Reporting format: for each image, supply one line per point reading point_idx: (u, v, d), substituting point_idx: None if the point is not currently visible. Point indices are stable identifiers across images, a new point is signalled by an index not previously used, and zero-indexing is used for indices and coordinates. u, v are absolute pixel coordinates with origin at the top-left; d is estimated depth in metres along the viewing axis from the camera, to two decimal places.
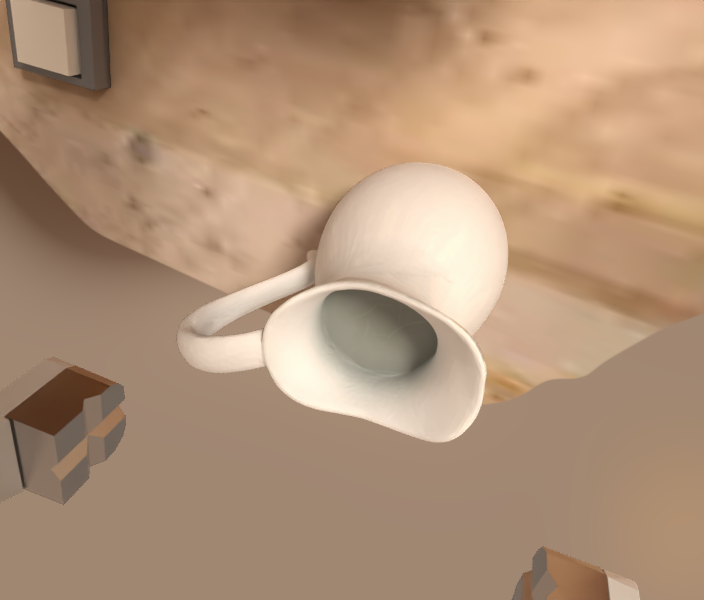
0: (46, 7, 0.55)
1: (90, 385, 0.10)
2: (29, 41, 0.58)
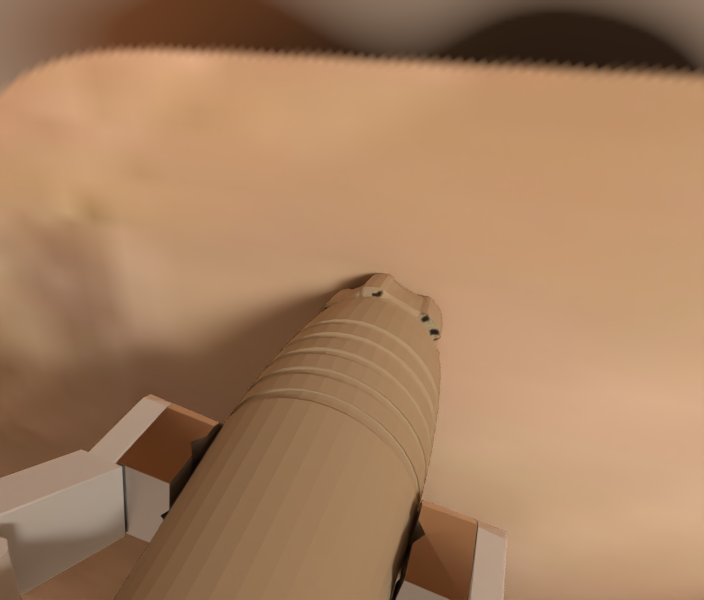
0: None
1: (194, 426, 0.10)
2: None
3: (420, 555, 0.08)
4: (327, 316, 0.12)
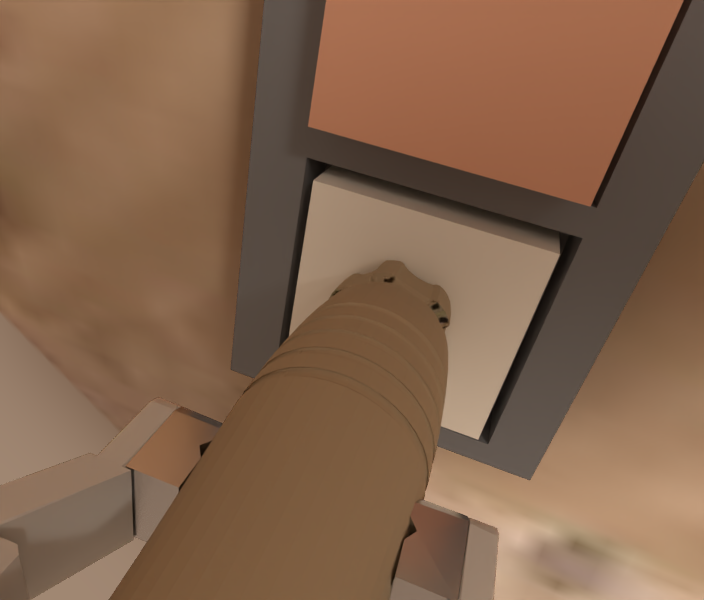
0: (475, 240, 0.14)
1: (202, 429, 0.10)
2: None
3: (411, 551, 0.08)
4: (340, 299, 0.12)
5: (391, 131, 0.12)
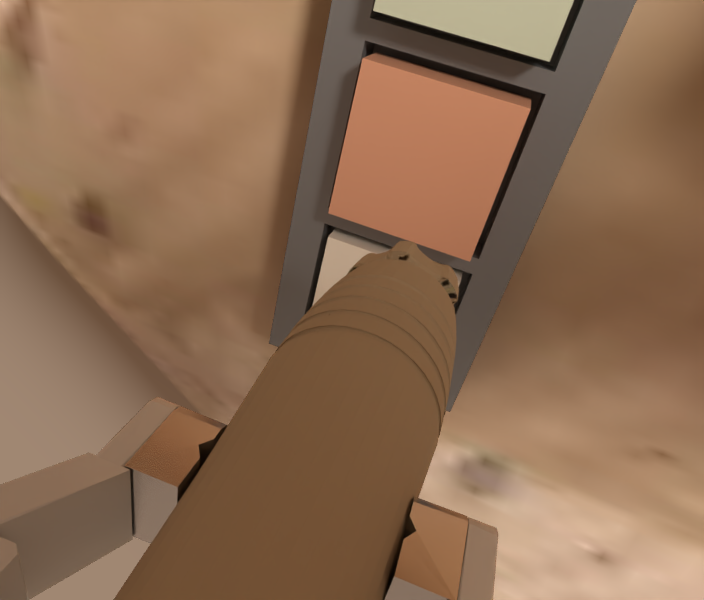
0: None
1: (201, 428, 0.10)
2: None
3: (410, 551, 0.08)
4: (361, 272, 0.13)
5: (371, 219, 0.23)
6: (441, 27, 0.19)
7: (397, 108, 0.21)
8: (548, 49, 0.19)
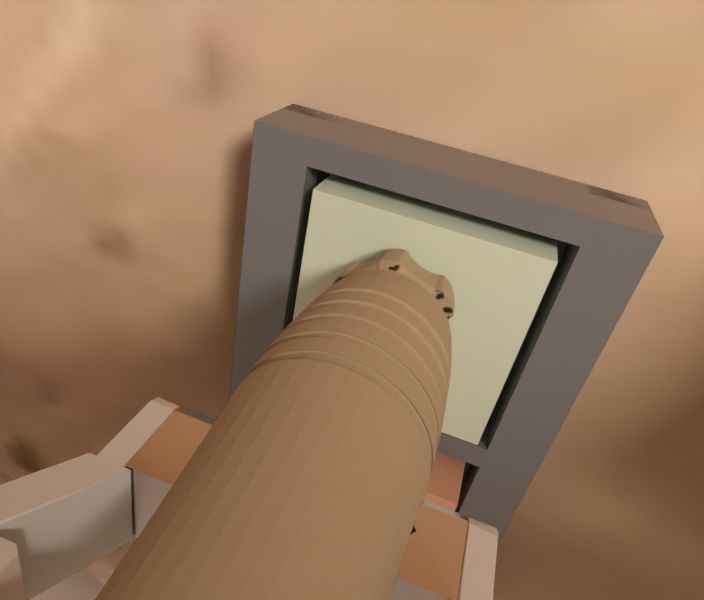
0: None
1: (202, 429, 0.10)
2: None
3: (410, 551, 0.08)
4: (346, 285, 0.12)
5: None
6: None
7: None
8: (475, 435, 0.17)
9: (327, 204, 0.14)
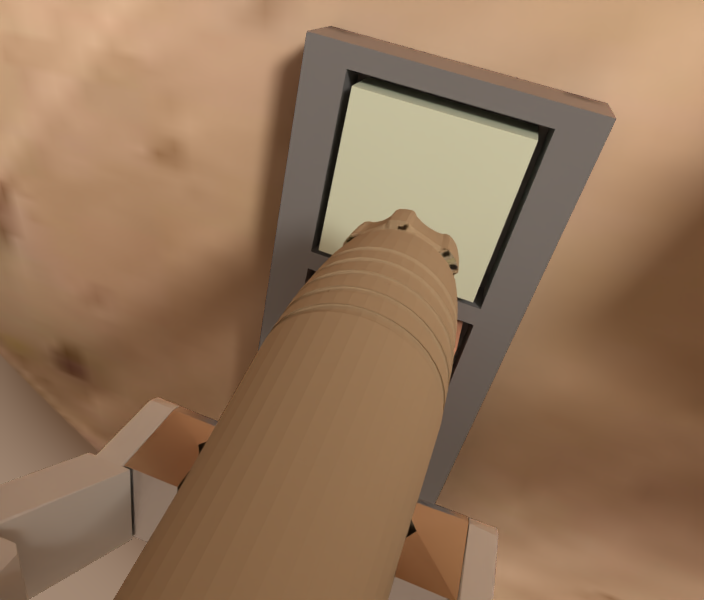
0: None
1: (201, 428, 0.10)
2: None
3: (410, 551, 0.08)
4: (359, 243, 0.13)
5: None
6: None
7: None
8: (471, 293, 0.21)
9: (362, 98, 0.19)
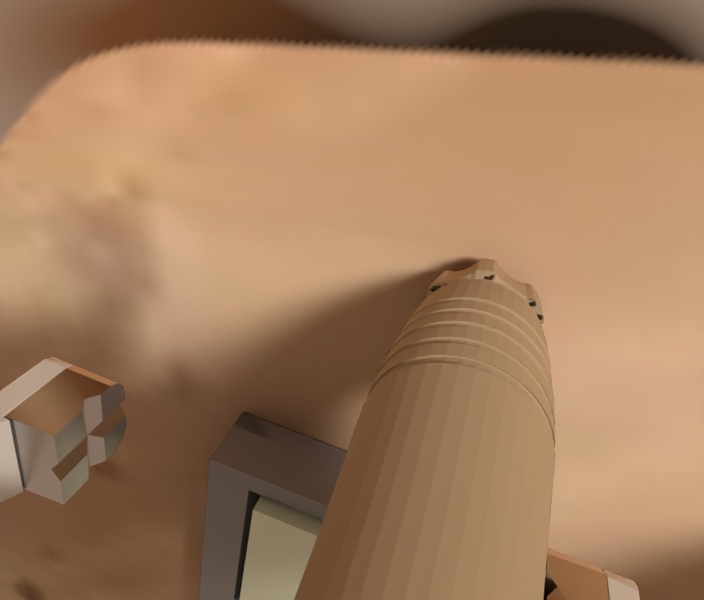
0: None
1: (90, 385, 0.10)
2: None
3: None
4: (453, 293, 0.13)
5: None
6: None
7: None
8: None
9: (263, 519, 0.20)
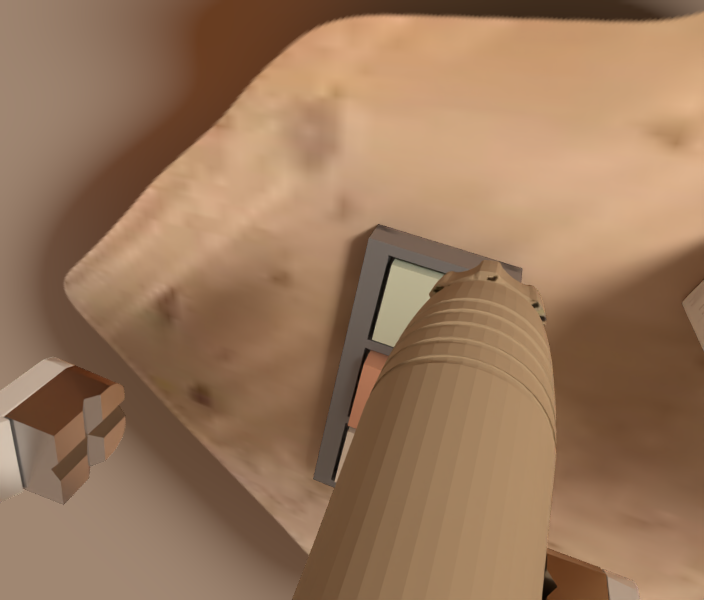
0: None
1: (90, 385, 0.10)
2: None
3: None
4: (456, 294, 0.13)
5: None
6: None
7: None
8: None
9: (397, 270, 0.37)
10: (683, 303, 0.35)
